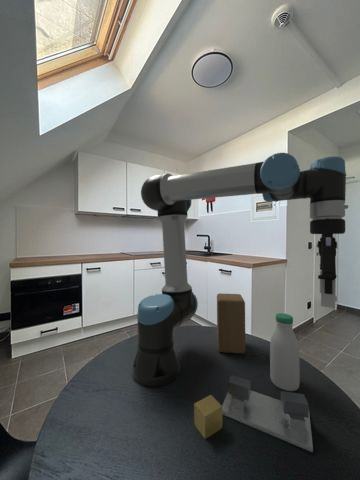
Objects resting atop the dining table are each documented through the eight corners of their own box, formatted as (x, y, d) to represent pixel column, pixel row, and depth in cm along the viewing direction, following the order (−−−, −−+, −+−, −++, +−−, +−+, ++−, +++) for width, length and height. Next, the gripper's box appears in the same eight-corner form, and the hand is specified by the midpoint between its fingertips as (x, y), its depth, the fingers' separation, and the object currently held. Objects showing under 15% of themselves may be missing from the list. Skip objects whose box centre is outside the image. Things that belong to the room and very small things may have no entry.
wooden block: (217, 339, 86) (216, 292, 85) (241, 341, 84) (241, 293, 84) (218, 353, 76) (217, 299, 75) (245, 355, 74) (245, 300, 74)
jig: (220, 413, 50) (220, 389, 50) (231, 387, 58) (231, 366, 58) (312, 452, 40) (312, 423, 40) (309, 414, 49) (308, 389, 49)
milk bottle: (304, 394, 55) (303, 321, 55) (273, 390, 57) (273, 319, 57) (294, 375, 63) (293, 311, 63) (267, 372, 65) (267, 310, 64)
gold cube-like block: (205, 439, 43) (204, 416, 43) (194, 424, 47) (194, 403, 47) (222, 428, 46) (222, 406, 46) (211, 415, 49) (210, 394, 49)
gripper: (353, 213, 41) (352, 318, 41) (340, 221, 61) (339, 290, 62) (309, 215, 45) (308, 310, 45) (310, 222, 66) (310, 287, 66)
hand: (326, 299), depth 53 cm, fingers open, 13 cm apart
